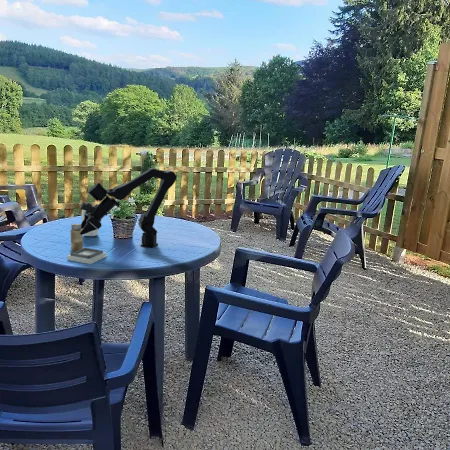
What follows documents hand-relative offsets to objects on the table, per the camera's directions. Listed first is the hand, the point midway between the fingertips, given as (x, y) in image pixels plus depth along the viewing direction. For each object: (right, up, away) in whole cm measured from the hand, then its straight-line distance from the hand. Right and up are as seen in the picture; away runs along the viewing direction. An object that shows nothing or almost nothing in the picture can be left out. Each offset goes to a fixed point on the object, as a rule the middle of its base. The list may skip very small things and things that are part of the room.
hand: (79, 231), depth 195 cm
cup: (-3, -3, +26) cm, 26 cm away
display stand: (+6, -12, -8) cm, 16 cm away
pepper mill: (-2, -9, +2) cm, 9 cm away
